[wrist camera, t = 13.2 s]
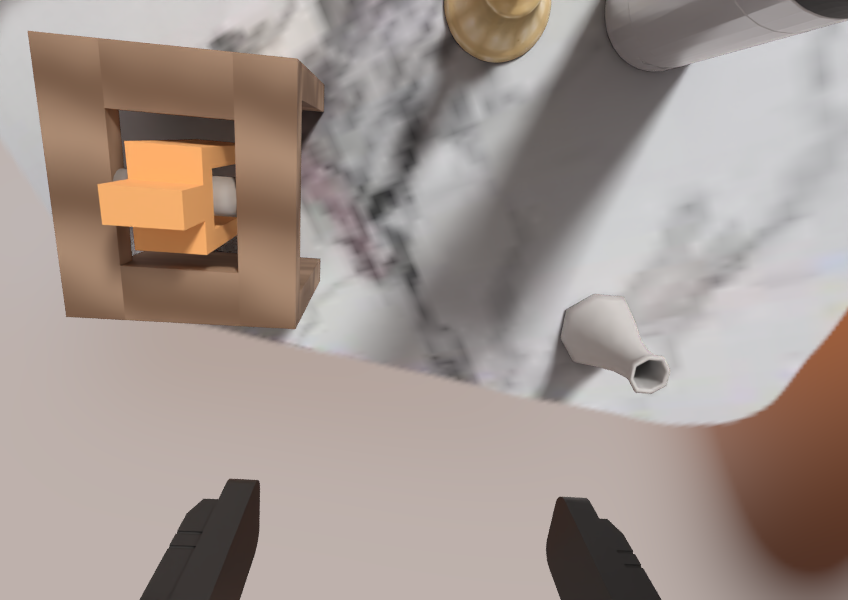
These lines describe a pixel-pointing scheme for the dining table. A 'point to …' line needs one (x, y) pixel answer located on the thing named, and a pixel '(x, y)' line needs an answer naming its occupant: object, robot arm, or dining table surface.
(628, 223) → the dining table surface
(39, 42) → the brown square frame
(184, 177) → the stepped orange block
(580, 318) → the flask
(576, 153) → the dining table surface
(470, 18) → the hand bell
